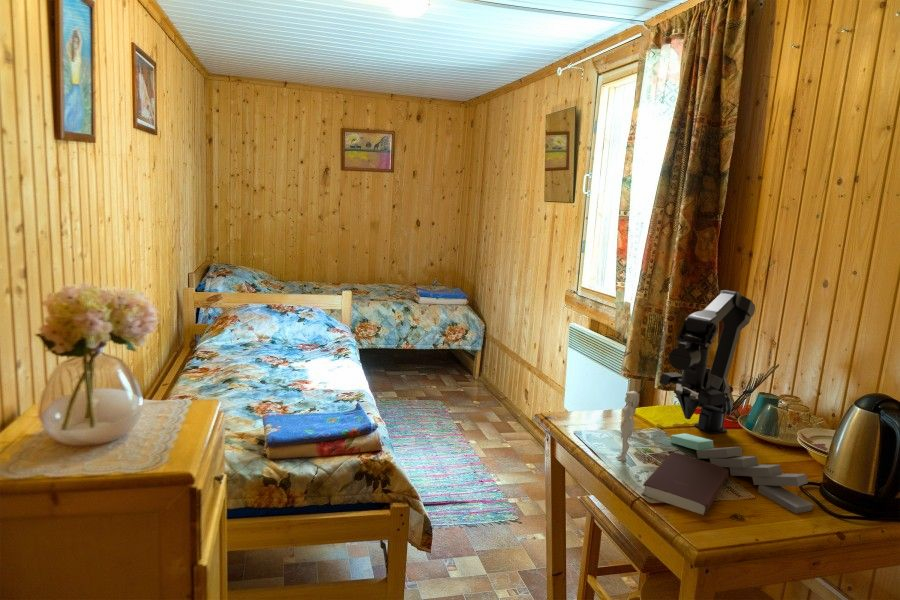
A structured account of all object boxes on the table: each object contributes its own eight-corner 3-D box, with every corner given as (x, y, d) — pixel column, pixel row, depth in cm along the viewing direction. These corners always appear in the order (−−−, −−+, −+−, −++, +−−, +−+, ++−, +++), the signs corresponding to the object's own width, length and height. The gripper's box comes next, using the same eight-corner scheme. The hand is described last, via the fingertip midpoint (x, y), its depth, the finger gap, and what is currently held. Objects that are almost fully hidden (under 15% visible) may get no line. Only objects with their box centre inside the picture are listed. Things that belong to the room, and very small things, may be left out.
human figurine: (612, 448, 163) (620, 383, 160) (627, 449, 163) (635, 384, 160) (620, 469, 152) (628, 399, 148) (636, 470, 151) (645, 400, 148)
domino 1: (711, 448, 163) (741, 446, 154) (712, 456, 162) (743, 454, 153) (696, 450, 161) (725, 449, 152) (698, 458, 160) (727, 457, 151)
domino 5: (774, 482, 146) (812, 504, 137) (773, 490, 146) (811, 512, 137) (758, 485, 144) (796, 507, 135) (757, 493, 144) (795, 515, 135)
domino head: (685, 433, 171) (713, 440, 162) (685, 440, 171) (713, 448, 162) (670, 435, 169) (698, 442, 160) (671, 442, 169) (698, 450, 160)
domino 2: (724, 455, 159) (756, 456, 150) (725, 463, 158) (758, 465, 149) (709, 458, 157) (741, 459, 148) (711, 466, 156) (743, 467, 147)
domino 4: (762, 473, 149) (806, 473, 142) (764, 481, 149) (808, 483, 141) (752, 476, 146) (796, 476, 139) (753, 484, 146) (798, 486, 138)
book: (728, 482, 149) (730, 467, 149) (705, 519, 132) (707, 503, 131) (668, 464, 157) (670, 450, 157) (640, 497, 140) (641, 482, 139)
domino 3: (741, 464, 154) (780, 464, 146) (743, 472, 154) (782, 473, 145) (729, 467, 151) (767, 467, 143) (730, 475, 151) (769, 476, 143)
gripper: (746, 371, 158) (737, 429, 161) (693, 351, 175) (686, 403, 178) (713, 374, 154) (704, 433, 157) (661, 353, 171) (655, 407, 174)
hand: (687, 418), depth 167 cm, fingers closed
